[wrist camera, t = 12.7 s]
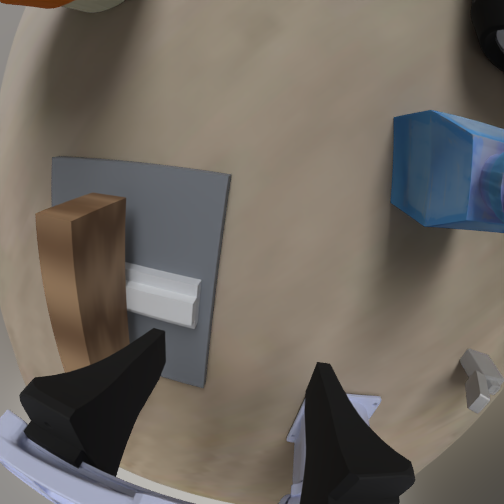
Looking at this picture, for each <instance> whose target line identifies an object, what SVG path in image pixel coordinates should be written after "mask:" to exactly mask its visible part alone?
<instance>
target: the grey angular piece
mask: <svg viewBox="0 0 504 504" xmlns="http://www.w3.org/2000/svg"><path fill="white" fill-rule="evenodd" d="M460 363H461V365H462V366H463V368H464V370H465V372H466V373H467V375H468V377H469V379H468V380H467V381H466V383H465V388H466V398H467V408H468V409H470V410H472V411H474V412H476V413H479V412H480V411H481V410H482V409H483V408H484V407H485V406H486V405H487V404H488V402H489V401H490V396H489V394H492V395H494V394H495V393H496V392H497V391H499V389H500V387H501V386H500V385H501V384H502V383H503V381H504V378H503V377H502V375H501V373H500V372H499V370H498V369H497V367H496V366H495V364H494V363H493V361H492V360H491V358H490V357H489V355H487V354H484V353H481V352H478V351H475V350H472V349H467V351H466V352H465V353H464V355H463V356H462V357H461V359H460Z"/></svg>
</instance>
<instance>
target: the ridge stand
mask: <svg viewBox="0 0 504 504" xmlns="http://www.w3.org/2000/svg"><path fill="white" fill-rule="evenodd" d="M230 181H231V174H225V173H218V172H212V171H205V170H198V169H191V168H183V167H176V166H168V165H160V164H151V163H142V162H132V161H121V160H110V159H97V158H83V157H66V156H58V157H52V207H53V206H56V205H59V204H61V203H64V202H67V201H70V200H72V199H75V198H78V197H81V196H84V195H87V194H89V193H92V192H93V193H100V194H106V195H113V196H119V197H126V217H125V279H126V302H127V317H128V330H129V341H130V343H132V342H133V341H135V340H136V339H138V338H139V337H141V336H142V335H144V334H145V333H147V332H148V331H150V330H151V329H153V328H156V329H160V330H163V331H165V342H166V363H165V366H164V368H163V371H162V373H161V376H162V377H165V378H168V379H172V380H175V381H179V382H182V383H186V384H189V385H193V386H197V387H201V388H204V385H205V382H206V374H207V364H208V354H209V344H210V335H211V326H212V317H213V309H214V300H215V292H216V283H217V275H218V268H219V260H220V252H221V244H222V237H223V230H224V222H225V215H226V208H227V201H228V194H229V188H230Z"/></svg>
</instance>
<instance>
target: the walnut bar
mask: <svg viewBox="0 0 504 504" xmlns="http://www.w3.org/2000/svg"><path fill="white" fill-rule="evenodd" d="M35 215H36V230H37V241H38V250H39V259H40V266H41V273H42V279H43V285H44V291H45V296H46V301H47V306H48V311H49V316H50V320H51V324H52V328H53V332H54V336H55V340H56V344H57V347H58V351H59V354H60V358H61V361H62V364H63V368H64V371H65V373H66V372H70V371H74V370H77V369H80V368H83V367H86V366H89V365H91V364H94V363H96V362H98V361H100V360H103V359H105V358H107V357H108V356H110V355H112V354H114V353H116V352H117V351H119V350H121V349H122V348H124V347H126V346H127V345H129V344H130V341H129V330H128V317H127V302H126V279H125V217H126V197H119V196H113V195H106V194H100V193H93V192H92V193H89V194H87V195H84V196H81V197H78V198H75V199H72V200H70V201H67V202H64V203H61V204H59V205H56V206H53V207H51V208H48V209H46V210H43V211H41V212H38V213H36V214H35Z"/></svg>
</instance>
